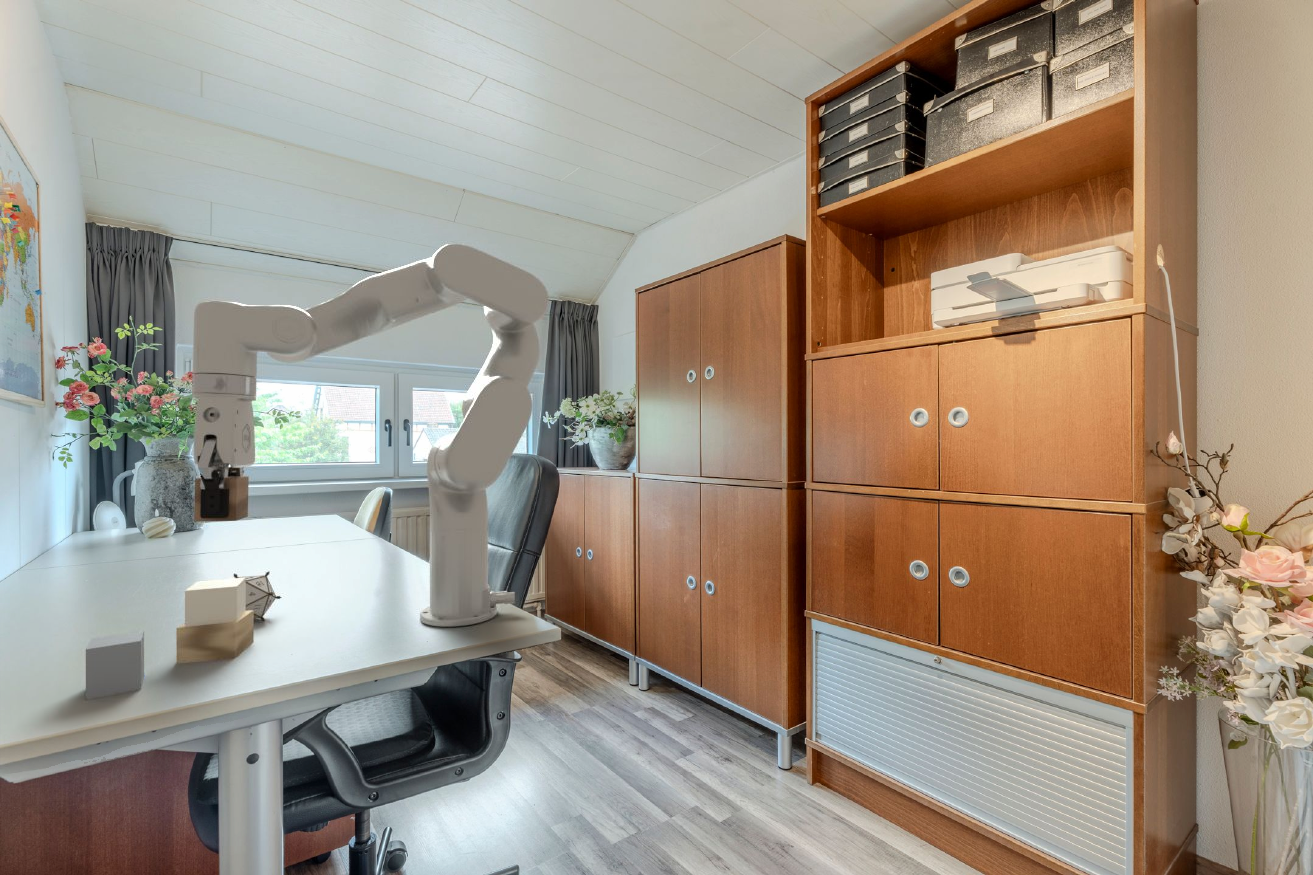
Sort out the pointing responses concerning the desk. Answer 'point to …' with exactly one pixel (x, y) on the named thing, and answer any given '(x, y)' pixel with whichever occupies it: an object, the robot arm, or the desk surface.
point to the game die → (259, 594)
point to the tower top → (215, 602)
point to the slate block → (114, 664)
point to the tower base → (215, 640)
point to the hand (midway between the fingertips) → (222, 514)
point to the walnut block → (236, 499)
